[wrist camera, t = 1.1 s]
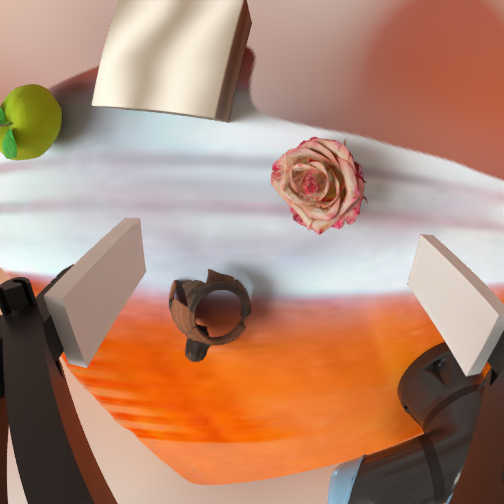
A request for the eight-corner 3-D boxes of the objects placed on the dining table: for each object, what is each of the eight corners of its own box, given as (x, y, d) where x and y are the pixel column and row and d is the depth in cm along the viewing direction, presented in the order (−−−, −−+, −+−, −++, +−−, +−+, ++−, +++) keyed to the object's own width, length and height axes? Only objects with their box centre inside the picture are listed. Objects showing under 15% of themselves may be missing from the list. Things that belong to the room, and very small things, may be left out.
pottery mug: (169, 255, 38) (184, 271, 30) (238, 264, 42) (267, 279, 34) (158, 344, 39) (171, 376, 31) (223, 345, 43) (247, 374, 36)
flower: (373, 135, 29) (342, 122, 23) (385, 223, 30) (359, 234, 24) (296, 150, 35) (252, 146, 29) (307, 227, 36) (265, 239, 30)
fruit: (49, 169, 34) (-2, 183, 24) (20, 124, 32) (-30, 129, 22) (88, 119, 31) (36, 120, 22) (56, 74, 29) (5, 67, 20)
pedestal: (251, 23, 27) (245, -7, 19) (228, 122, 31) (214, 117, 23) (150, 17, 27) (121, -7, 19) (128, 109, 31) (91, 105, 23)
